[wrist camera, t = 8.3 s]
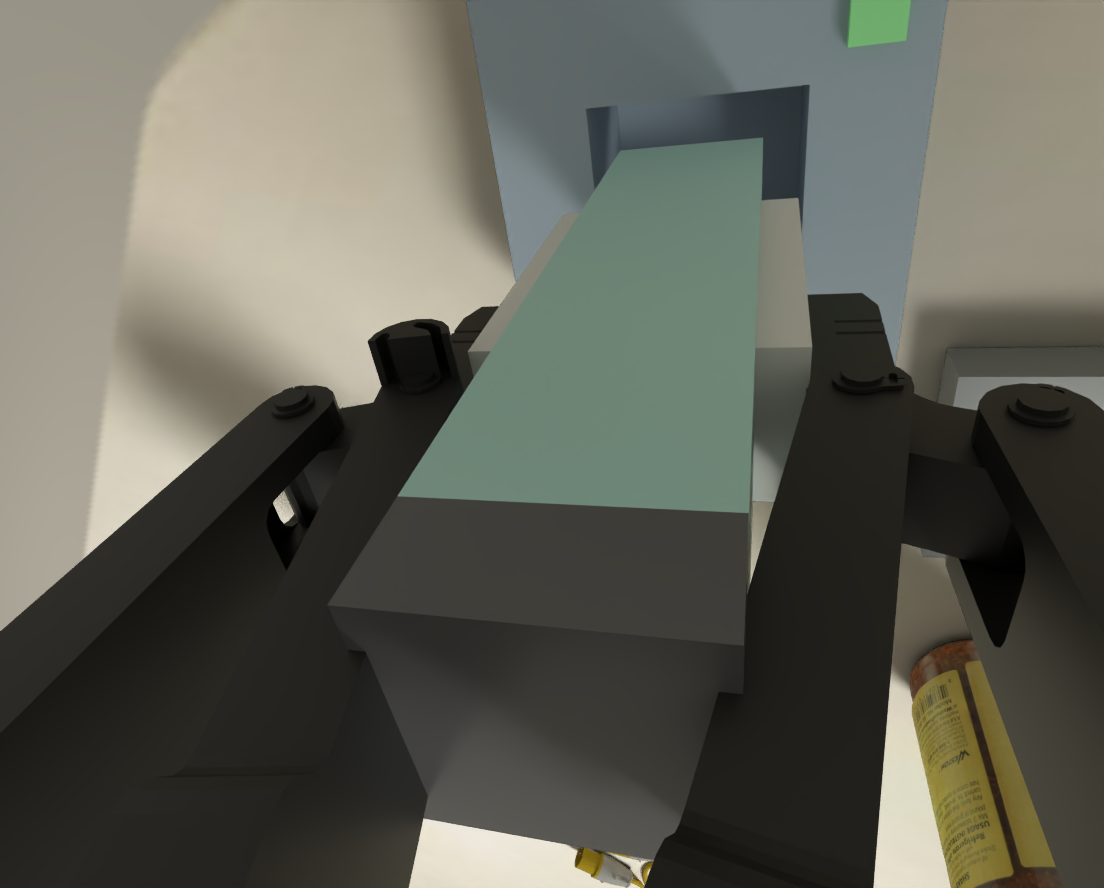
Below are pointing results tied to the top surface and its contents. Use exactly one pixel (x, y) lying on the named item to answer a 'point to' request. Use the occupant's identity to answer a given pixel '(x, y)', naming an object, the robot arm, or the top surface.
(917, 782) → the top surface
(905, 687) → the top surface
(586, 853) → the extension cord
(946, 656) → the sauce bottle
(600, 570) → the plug
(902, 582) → the top surface
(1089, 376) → the holster
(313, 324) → the top surface
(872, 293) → the port
